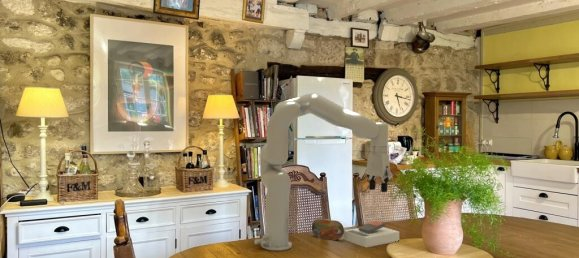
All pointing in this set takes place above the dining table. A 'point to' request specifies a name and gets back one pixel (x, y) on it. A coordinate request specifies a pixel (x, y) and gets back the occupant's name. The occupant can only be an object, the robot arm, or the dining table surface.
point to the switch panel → (371, 237)
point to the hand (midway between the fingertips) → (378, 190)
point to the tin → (327, 229)
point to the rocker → (371, 227)
